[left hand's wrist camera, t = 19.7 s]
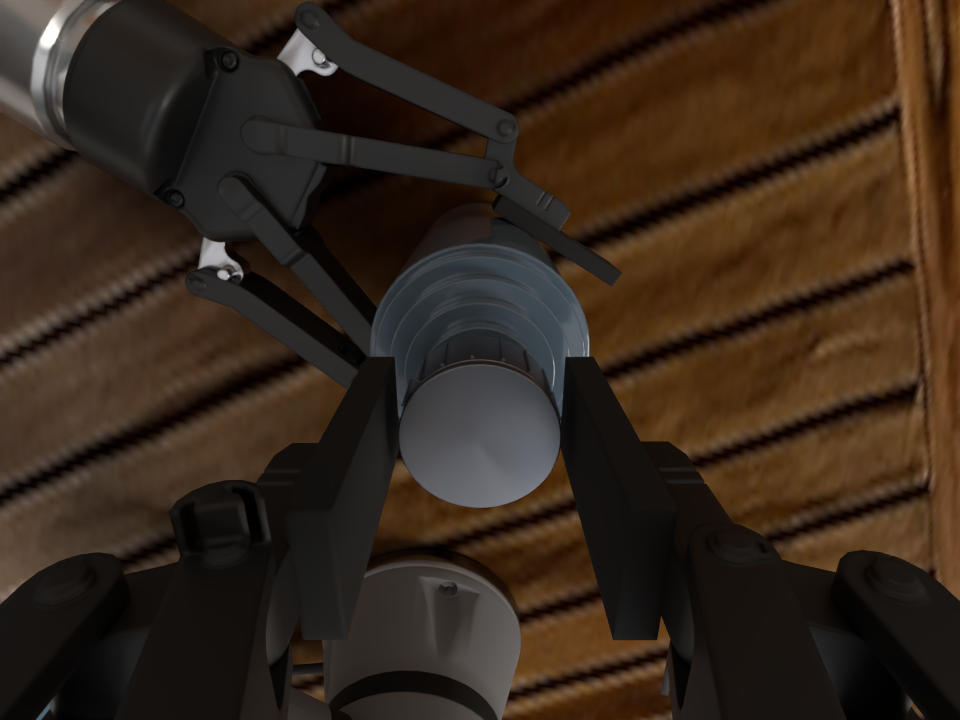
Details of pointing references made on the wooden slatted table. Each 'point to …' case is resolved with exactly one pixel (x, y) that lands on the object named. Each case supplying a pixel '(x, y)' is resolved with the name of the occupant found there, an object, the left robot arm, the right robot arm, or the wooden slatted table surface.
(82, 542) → the wooden slatted table surface
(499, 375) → the cap
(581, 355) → the bottle
